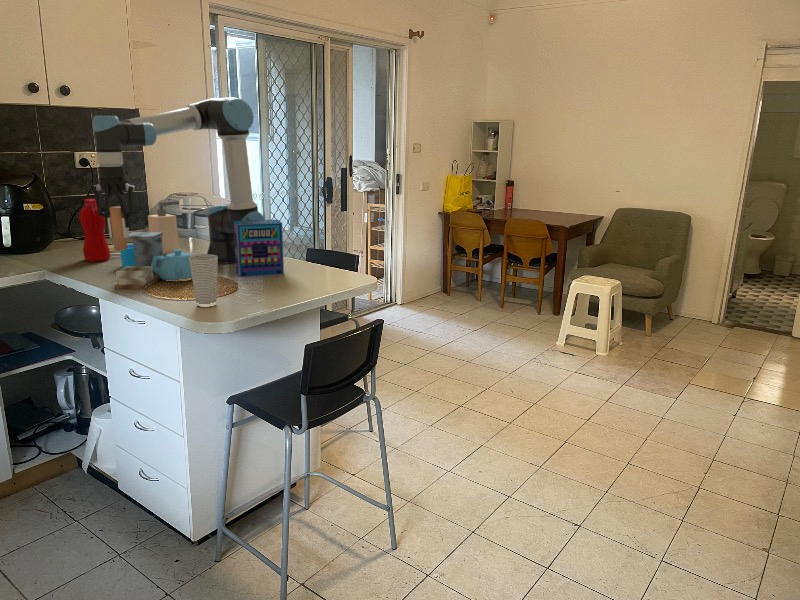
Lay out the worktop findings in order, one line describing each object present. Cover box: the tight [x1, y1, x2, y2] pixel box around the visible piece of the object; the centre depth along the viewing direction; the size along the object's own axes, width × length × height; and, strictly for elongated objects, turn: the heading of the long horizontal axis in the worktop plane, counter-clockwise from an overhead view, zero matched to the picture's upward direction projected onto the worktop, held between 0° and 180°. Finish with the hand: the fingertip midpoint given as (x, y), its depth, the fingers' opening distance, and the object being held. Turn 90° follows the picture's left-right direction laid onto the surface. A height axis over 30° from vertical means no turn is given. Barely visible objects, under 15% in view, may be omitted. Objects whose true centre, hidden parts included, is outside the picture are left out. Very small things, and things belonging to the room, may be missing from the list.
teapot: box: [151, 249, 192, 281], centre depth 218 cm, size 15×15×11 cm
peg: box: [109, 206, 128, 251], centre depth 198 cm, size 4×4×14 cm
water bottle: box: [78, 198, 111, 263], centre depth 242 cm, size 9×11×25 cm
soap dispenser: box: [147, 200, 180, 255], centre depth 263 cm, size 13×9×22 cm
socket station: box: [114, 231, 164, 290], centre depth 211 cm, size 11×20×16 cm, turn 1°
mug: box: [119, 243, 135, 269], centre depth 236 cm, size 12×8×8 cm
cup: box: [189, 253, 219, 304], centre depth 184 cm, size 8×8×16 cm
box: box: [234, 219, 285, 278], centre depth 226 cm, size 17×9×20 cm, turn 111°
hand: (119, 236), depth 198 cm, fingers closed on peg, 4 cm apart
